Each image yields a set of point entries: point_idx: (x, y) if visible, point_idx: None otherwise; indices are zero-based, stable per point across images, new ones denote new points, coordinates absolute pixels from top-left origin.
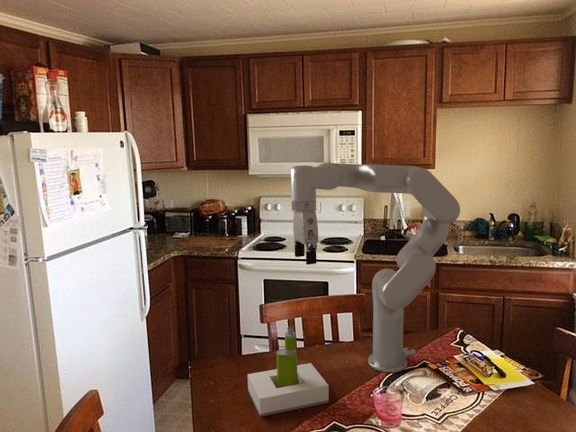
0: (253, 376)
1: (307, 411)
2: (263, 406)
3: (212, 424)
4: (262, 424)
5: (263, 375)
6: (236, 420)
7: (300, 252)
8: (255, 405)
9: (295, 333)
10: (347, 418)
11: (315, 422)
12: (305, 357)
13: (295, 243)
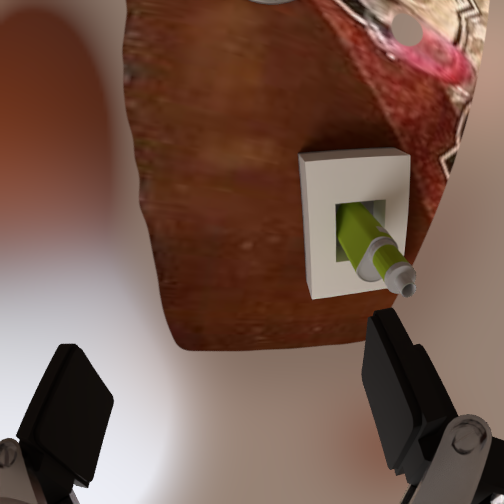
0: (324, 290)
1: None
2: None
3: None
4: None
5: (327, 272)
6: (380, 299)
7: (84, 400)
8: None
9: (406, 266)
10: (442, 135)
11: (433, 189)
12: (188, 142)
13: (74, 494)
